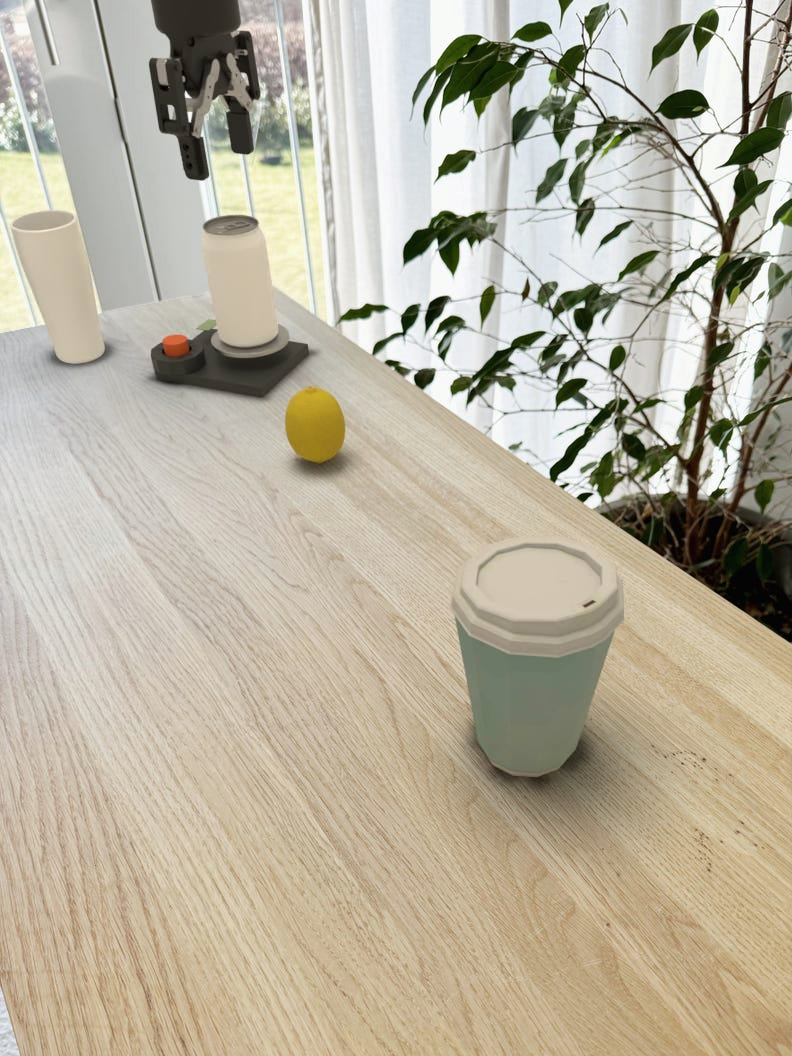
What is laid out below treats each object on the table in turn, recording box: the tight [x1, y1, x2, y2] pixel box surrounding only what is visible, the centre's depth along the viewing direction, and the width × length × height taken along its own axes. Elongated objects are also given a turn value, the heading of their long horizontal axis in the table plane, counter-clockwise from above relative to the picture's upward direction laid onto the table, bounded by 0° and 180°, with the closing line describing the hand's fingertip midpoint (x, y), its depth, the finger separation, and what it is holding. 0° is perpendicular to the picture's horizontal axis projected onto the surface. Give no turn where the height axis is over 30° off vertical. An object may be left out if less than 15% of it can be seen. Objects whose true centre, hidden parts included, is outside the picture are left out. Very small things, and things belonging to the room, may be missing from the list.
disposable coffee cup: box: [449, 534, 625, 778], centre depth 64 cm, size 11×11×15 cm
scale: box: [150, 328, 310, 399], centre depth 111 cm, size 14×12×3 cm
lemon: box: [284, 385, 346, 465], centre depth 94 cm, size 6×6×8 cm
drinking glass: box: [9, 209, 106, 365], centre depth 109 cm, size 7×7×15 cm
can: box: [201, 214, 279, 348], centre depth 106 cm, size 6×6×12 cm
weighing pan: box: [195, 318, 290, 358], centre depth 110 cm, size 12×8×1 cm
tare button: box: [161, 333, 190, 357], centre depth 108 cm, size 3×3×2 cm
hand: (221, 165), depth 98 cm, fingers open, 8 cm apart
